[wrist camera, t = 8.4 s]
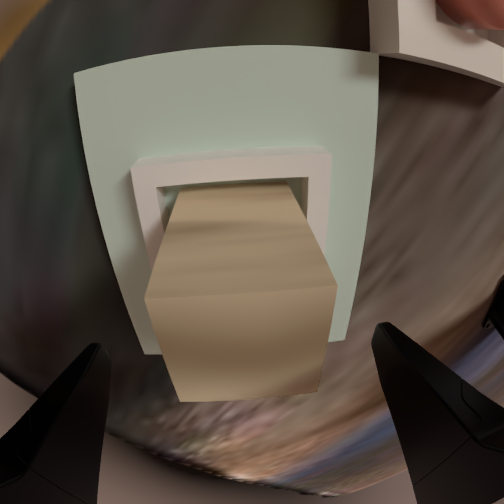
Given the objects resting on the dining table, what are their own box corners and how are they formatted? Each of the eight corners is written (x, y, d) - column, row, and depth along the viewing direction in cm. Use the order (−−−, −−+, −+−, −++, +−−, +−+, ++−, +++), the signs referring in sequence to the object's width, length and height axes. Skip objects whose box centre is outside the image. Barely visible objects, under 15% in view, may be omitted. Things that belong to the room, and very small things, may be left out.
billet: (284, 268, 17) (317, 391, 11) (193, 274, 17) (180, 401, 10) (286, 181, 15) (337, 285, 8) (180, 187, 15) (143, 298, 8)
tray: (340, 329, 22) (350, 355, 20) (146, 344, 21) (141, 370, 19) (370, 54, 12) (393, 52, 10) (82, 72, 12) (58, 74, 10)
